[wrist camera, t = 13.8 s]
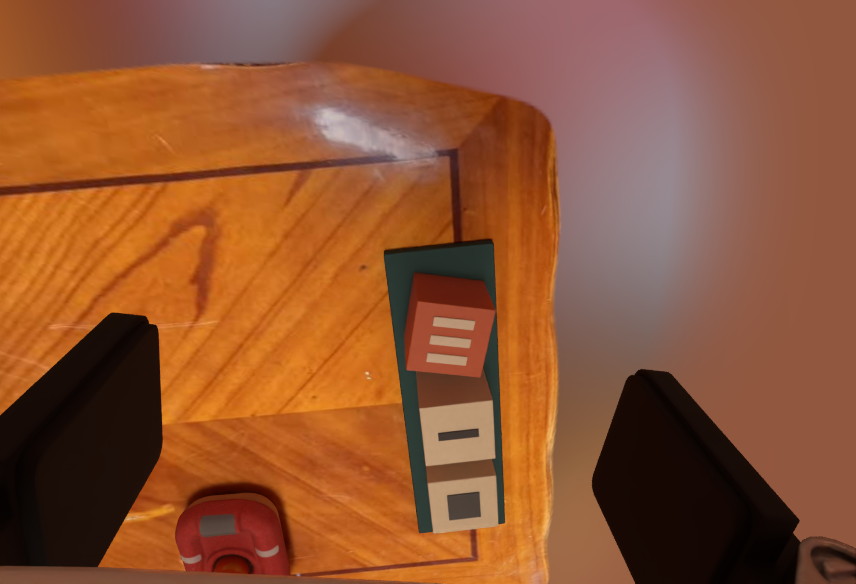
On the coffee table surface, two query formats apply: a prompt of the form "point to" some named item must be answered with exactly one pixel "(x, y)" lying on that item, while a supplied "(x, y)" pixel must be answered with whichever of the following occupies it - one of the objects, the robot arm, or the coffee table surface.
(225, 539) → the toy boat
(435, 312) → the red striped block
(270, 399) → the coffee table surface
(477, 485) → the block
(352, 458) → the coffee table surface
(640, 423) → the robot arm
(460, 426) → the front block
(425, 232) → the coffee table surface
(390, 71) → the coffee table surface
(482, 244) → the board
